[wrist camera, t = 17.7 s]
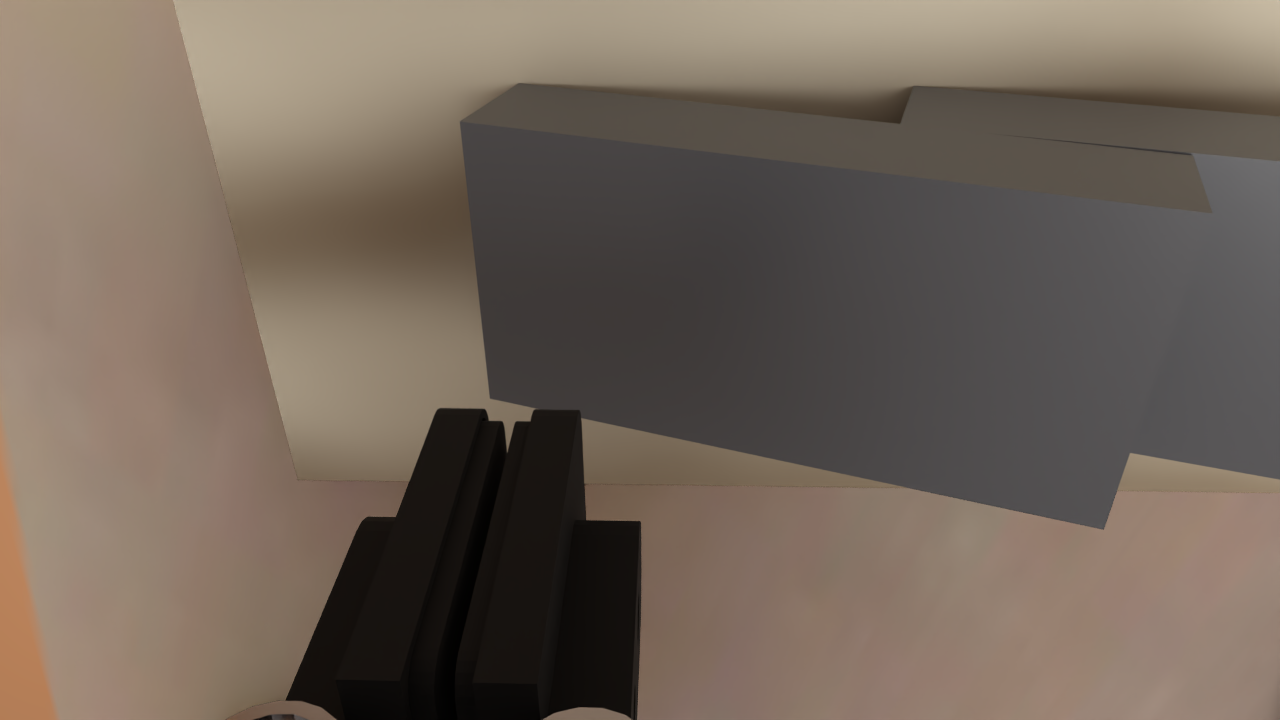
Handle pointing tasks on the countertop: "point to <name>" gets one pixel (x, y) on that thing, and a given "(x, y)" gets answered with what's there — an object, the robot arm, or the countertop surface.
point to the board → (614, 63)
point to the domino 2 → (1222, 277)
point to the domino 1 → (833, 288)
